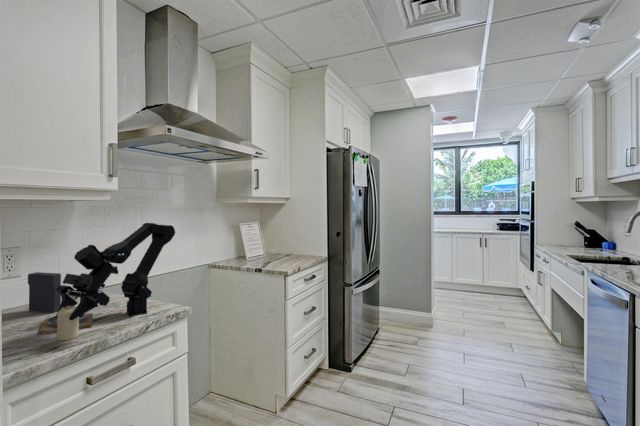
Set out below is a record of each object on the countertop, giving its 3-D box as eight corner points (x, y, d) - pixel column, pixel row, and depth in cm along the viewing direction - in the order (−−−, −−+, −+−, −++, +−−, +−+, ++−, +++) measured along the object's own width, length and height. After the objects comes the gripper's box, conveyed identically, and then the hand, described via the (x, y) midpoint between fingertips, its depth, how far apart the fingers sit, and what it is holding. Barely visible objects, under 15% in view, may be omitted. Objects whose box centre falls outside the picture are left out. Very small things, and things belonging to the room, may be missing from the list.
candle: (56, 342, 102) (57, 310, 102) (57, 336, 107) (58, 305, 107) (78, 338, 106) (78, 307, 106) (78, 332, 110) (79, 303, 110)
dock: (92, 315, 127) (92, 309, 127) (91, 327, 115) (91, 320, 115) (45, 321, 119) (45, 314, 119) (39, 334, 108) (39, 327, 108)
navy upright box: (62, 310, 132) (62, 273, 132) (52, 313, 128) (53, 275, 128) (37, 308, 134) (38, 271, 133) (27, 311, 129) (27, 273, 129)
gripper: (61, 261, 112) (23, 302, 102) (102, 266, 107) (66, 309, 96) (83, 279, 120) (50, 319, 110) (122, 284, 114) (91, 327, 104)
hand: (63, 318), depth 105 cm, fingers closed on candle, 5 cm apart
